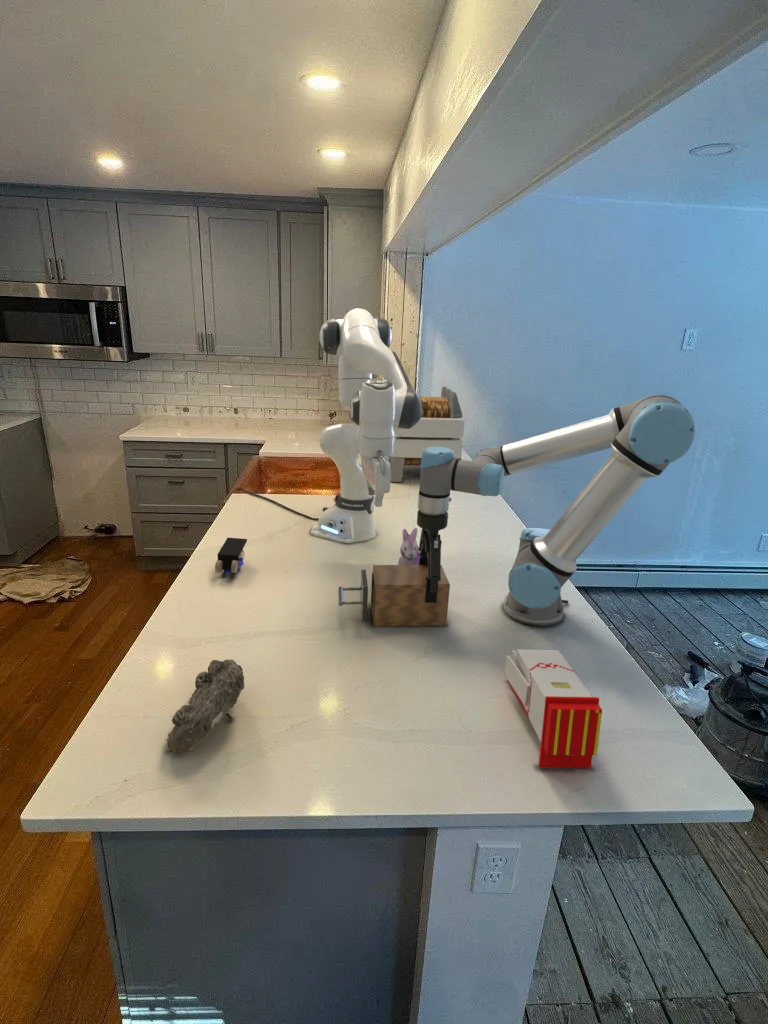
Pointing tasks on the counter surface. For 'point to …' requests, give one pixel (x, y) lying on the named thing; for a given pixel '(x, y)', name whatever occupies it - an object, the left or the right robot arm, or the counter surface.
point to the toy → (556, 707)
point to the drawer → (363, 595)
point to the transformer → (429, 433)
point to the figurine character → (230, 556)
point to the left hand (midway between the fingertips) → (374, 500)
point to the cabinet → (408, 596)
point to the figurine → (409, 549)
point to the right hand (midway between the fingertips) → (426, 590)
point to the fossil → (206, 705)
